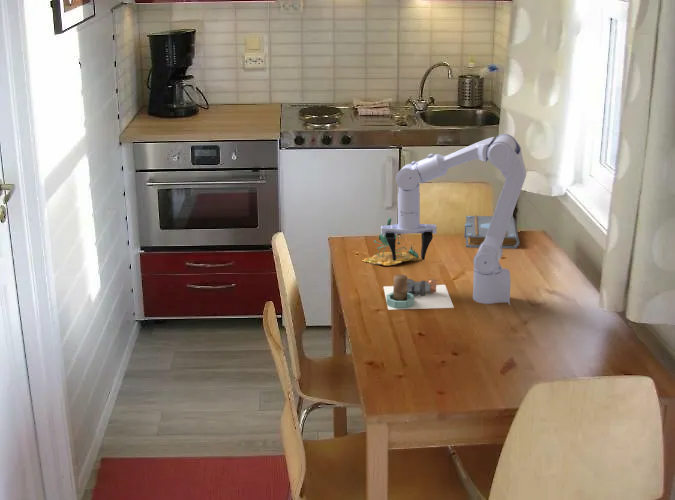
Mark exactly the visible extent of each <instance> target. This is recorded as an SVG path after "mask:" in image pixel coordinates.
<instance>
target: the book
mask: <svg viewBox="0 0 675 500" xmlns="http://www.w3.org/2000/svg"><path fill="white" fill-rule="evenodd" d="M492 217H493V215H491V216H490V215H489V216H488V215H466V216H465V223H464V238H465V248H471V249H472V248H475V249H476V248H477V249H479V247H480V245H481V244H482V243H483V242H484V240H485V237H486V235H487V232H488V229H489V226H490V223H491V220H492ZM518 233H519V232H518V228H517V221H516V219H515V218H514V216H512V217H511V220H510V223H509V225H508V228H507V231H506V234H505V237H504V240H503V243H502V249H511V250H513V249H515V250H516V249H517V248H518V247H519V245H520V238H519V234H518Z"/></svg>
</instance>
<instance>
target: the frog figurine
mask: <svg viewBox="0 0 675 500" xmlns="http://www.w3.org/2000/svg"><path fill="white" fill-rule="evenodd" d="M386 223H387V224H386V226H388V225H392V218H391V217H388V219H387V222H386ZM382 226H385V224H383V225H382ZM395 239H396V240H397V243H396V245H400V244H401V242H400V240H399V237H398V234H395ZM378 240H379V241H380V242H381V243H379V242H377V240H373V243H377V244H378V245H381V246H377V250H379V251H378V253H374V255H373V256H369V257H365V258H363V259H364V260H363V259H362V261H364V262H363V263H368V262H369V263H368V264H371V265H383V266H386V267H387V266H394V265H398V264H401V263H402V262H413V261H414V262H416V261H421V260H422V258H421V257H420V255H419V254H418V252H416V250H415V249H413V245H411V247H410V248H409V250H408V252H401V251H400V250H402V249H404V250H407V247H405V246H402V247H400V248H399V249H395V253H396V261H393V257H392V251H391V248H390V246H389V243H388V241H387V239H386V236H385V235H382V234H381V233H380V234H379V236H378ZM387 247H389V249H390V251H389V252H388V251H387V252H385V250H386V248H387ZM382 248H384V249H383V251H382V252H381V250H382Z"/></svg>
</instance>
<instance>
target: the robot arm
mask: <svg viewBox="0 0 675 500" xmlns="http://www.w3.org/2000/svg"><path fill="white" fill-rule="evenodd" d="M474 160H479V161H482V162H484V163H487V162H488V161H489V162H490V163H491V165H493V166H494V167H496V168H497V169H498V170H499V171H500V172H501V174H502V175H503V177H504V180H505V181H504V183H503V186H502V189H501V192H500V194H499V198H498V200H497V203H496V206H495V210H494V212H493V214H492V216H493V217H492V220H491V223H490V226H489V229H488V232H487V235H486V237H485V240H484V242H483V243H482V244H481V245H480V247H479V248H478V250H477V252H476V254H475V255H474V256H473V257H474V258H473V261H472V262H473V263H472V264H473V285H472V299H473V301H474V302H476V303H479V304H485V305H491V304H499V303H507V304H508V305H509V306H511V303H510V301H511V280H512V279H511V274H510V273H511V272H510V269H508V268H503V267H502V266H501V264H500V260H501V259H502V257H503V252H504V251H503V248H502V243H503V240H504V237H505V234H506V231H507V228H508V225H509V223H510V220H511V217H513V214H514V210H515V208H516V206H517V202H518V200H519V198H520V194H521V191H522V188H523V185H524V182H525V179H526V177H527V170H526V165H525V162H524V158H523V154H522V147H521V145H520V144H519V142H518V140H516V138H515V137H514V136H512V135H511V134H508V133H502V134H499V135H497V136H496V137H495V136H492V137H488V138H485V139H482V140H480V141H478V142H475V143H472V144H470V145H468V146H466V147H464V148H461V149H459V150H457V151H454V152H452V153H449V154H447V155H443V154H439V153H437V154H434V153H433V152H432V153H429V154H428V155H427V157H425V158H423V159H421V160H418V161H416V160H414V161H411V162H410V163H407V164H405V165H403V166H402V168H401V169H400V170H399V171H398V172H397V173H396V176H395V183H396V185H397V186H398V188H397V189H398V193H397V223H395V224H390V225H388V226H387V225H384V226H383V225H381V226H380V234H382V235H385V236H386V239H387V241H388V243H389V246H390V247H389V246H388V247H389V249H390V248H391V250H390V252H391V251H392V257H393V261H396V253H395V252H396V244H397V243H396V240H397V238H396V239H395V234H396V235H400V234H401V235H403V234H404V235H406V234H409V235H410V234H421V249H420V258H421V260H422V261H425V258H426V254H427V250H428V248H429V246H430V243H431V242H432V240H433V238H434V237H433V235H435V234H437V225H436V224H430V223H429V224H428V223H420V221H421V220H420V217H421V216H420V215H421V214H420V213H421V212H420V208H421V203H420V202H421V201H420V200H421V193H420V184H425V183H429V181H433V180H435V179H438V178H441V177H443V176H446V175H447V173H448V170H449V169H451V168H453V167H456V166H459V165H462V164H465V163H467V162H468V163H469V162H471V161H474Z"/></svg>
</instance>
